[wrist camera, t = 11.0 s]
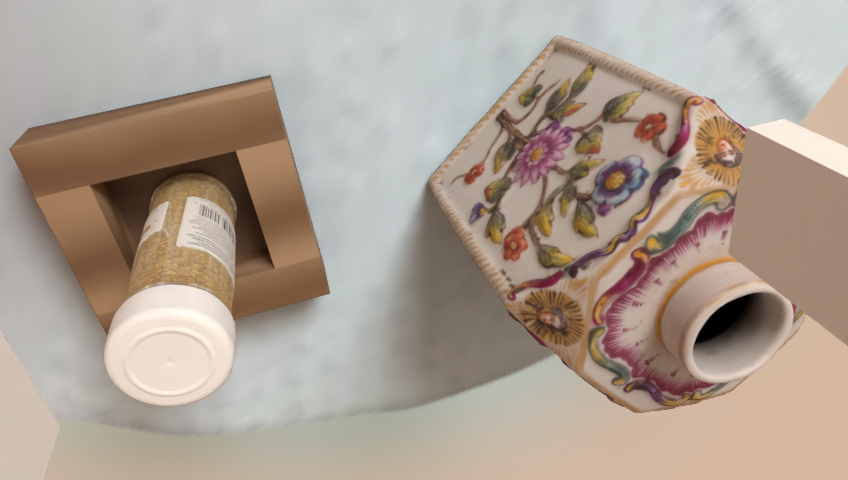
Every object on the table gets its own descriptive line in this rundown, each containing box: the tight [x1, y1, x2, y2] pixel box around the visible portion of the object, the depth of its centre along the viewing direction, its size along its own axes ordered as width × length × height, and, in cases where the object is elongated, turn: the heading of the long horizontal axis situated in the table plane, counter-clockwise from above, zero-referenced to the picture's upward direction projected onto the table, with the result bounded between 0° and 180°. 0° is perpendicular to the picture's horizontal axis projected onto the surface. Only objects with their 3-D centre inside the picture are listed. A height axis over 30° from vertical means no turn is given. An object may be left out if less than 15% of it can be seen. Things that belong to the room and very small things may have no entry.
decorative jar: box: [428, 36, 806, 413], centre depth 31 cm, size 12×12×18 cm
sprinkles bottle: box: [104, 172, 237, 406], centre depth 29 cm, size 5×5×14 cm
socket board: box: [9, 75, 330, 336], centre depth 34 cm, size 12×12×3 cm
